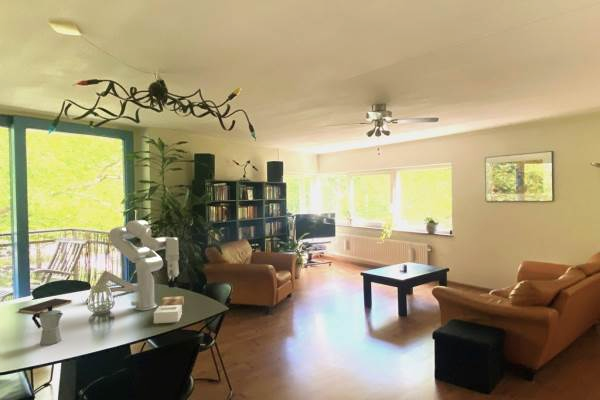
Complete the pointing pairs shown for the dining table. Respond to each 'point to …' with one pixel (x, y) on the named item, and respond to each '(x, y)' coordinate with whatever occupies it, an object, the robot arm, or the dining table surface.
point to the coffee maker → (49, 326)
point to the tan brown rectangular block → (173, 301)
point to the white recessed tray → (168, 314)
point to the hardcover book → (45, 306)
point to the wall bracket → (124, 284)
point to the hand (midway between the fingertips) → (173, 285)
